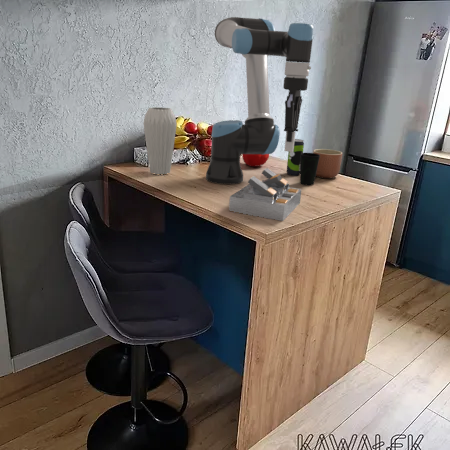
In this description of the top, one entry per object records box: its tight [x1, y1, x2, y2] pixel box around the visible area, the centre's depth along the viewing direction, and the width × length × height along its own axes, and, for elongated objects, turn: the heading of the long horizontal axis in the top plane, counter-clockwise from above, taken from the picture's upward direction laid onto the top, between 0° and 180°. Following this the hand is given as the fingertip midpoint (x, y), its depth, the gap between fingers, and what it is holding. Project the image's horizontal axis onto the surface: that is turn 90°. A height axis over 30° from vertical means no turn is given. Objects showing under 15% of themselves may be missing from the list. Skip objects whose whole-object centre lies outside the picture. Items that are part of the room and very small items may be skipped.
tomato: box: [241, 154, 270, 167], centre depth 211 cm, size 13×12×11 cm
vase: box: [143, 106, 177, 174], centre depth 186 cm, size 13×13×26 cm
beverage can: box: [286, 138, 305, 177], centre depth 198 cm, size 6×6×15 cm
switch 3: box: [261, 167, 289, 187], centre depth 157 cm, size 9×4×2 cm, turn 67°
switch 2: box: [247, 175, 277, 197], centre depth 144 cm, size 9×4×2 cm, turn 67°
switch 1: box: [253, 173, 283, 188], centre depth 151 cm, size 9×4×2 cm, turn 67°
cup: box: [299, 152, 320, 187], centre depth 184 cm, size 8×8×12 cm
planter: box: [312, 148, 343, 179], centre depth 198 cm, size 12×12×11 cm
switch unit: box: [228, 179, 302, 222], centre depth 153 cm, size 18×22×6 cm
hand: (288, 151), depth 152 cm, fingers closed
